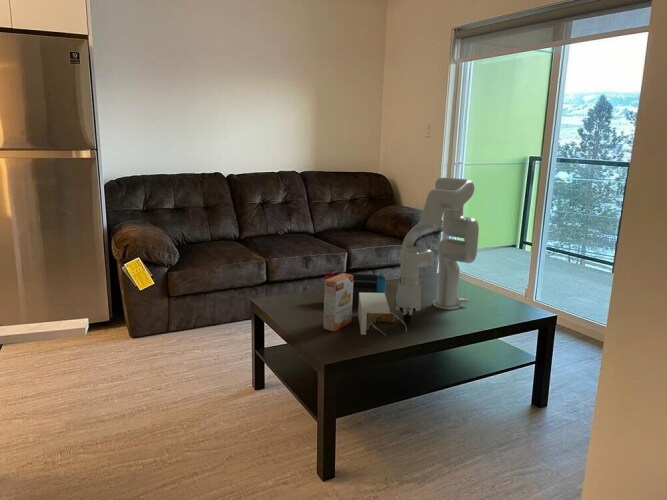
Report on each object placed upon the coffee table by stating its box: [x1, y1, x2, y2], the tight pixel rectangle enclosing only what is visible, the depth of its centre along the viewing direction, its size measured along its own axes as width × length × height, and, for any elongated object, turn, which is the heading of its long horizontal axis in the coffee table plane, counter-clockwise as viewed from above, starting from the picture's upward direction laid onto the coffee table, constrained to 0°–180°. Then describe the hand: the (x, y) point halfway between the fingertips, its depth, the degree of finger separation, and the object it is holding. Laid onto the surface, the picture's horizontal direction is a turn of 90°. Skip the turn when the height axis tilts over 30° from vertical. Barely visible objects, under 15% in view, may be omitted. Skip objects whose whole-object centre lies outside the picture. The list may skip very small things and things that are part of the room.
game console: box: [324, 271, 387, 308], centre depth 244 cm, size 28×6×15 cm, turn 84°
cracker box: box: [322, 272, 354, 332], centre depth 215 cm, size 14×6×21 cm, turn 148°
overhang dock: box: [357, 292, 391, 336], centre depth 219 cm, size 11×22×10 cm, turn 0°
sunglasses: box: [368, 312, 408, 336], centre depth 217 cm, size 14×15×5 cm
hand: (406, 323), depth 220 cm, fingers closed
